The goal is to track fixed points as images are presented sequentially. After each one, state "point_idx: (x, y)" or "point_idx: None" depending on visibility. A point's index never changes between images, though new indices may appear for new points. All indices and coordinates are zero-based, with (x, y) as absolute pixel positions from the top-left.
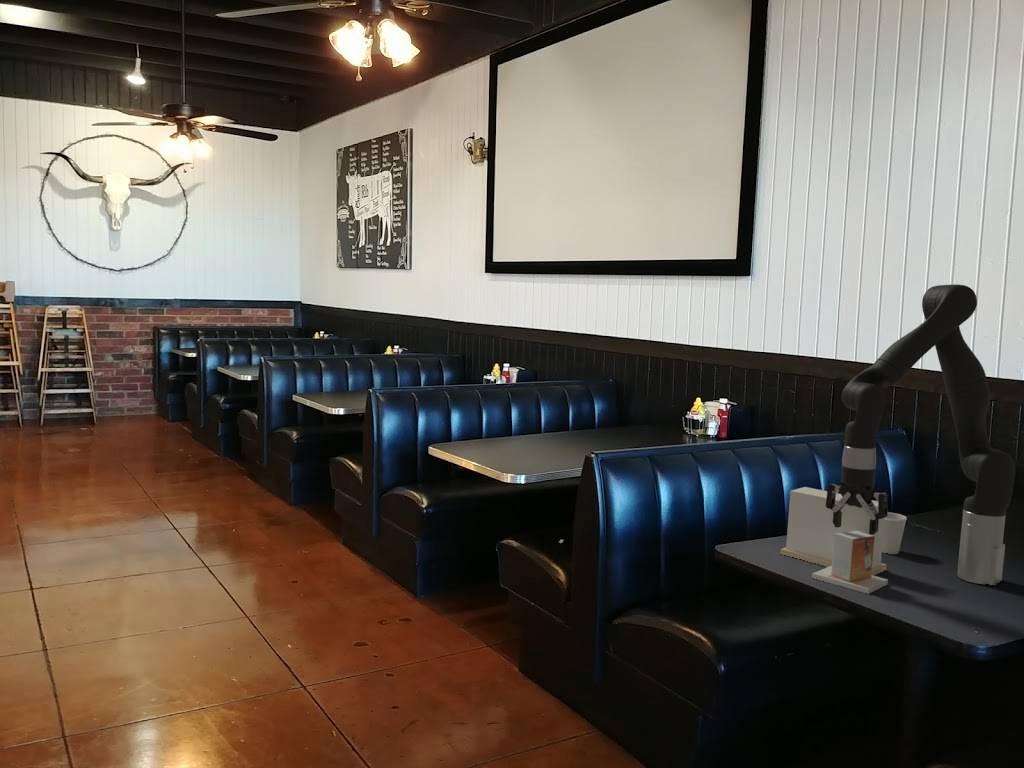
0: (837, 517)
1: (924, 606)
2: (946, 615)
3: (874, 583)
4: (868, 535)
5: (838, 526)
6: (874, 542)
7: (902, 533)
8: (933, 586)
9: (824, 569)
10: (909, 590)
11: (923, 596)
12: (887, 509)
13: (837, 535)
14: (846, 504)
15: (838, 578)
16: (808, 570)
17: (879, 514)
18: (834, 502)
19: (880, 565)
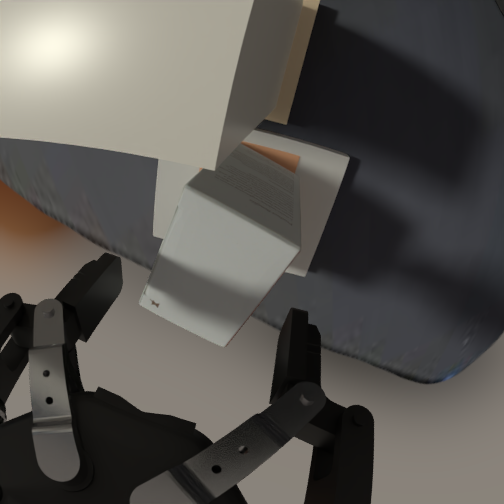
0: (95, 324)
1: (422, 279)
2: (449, 303)
3: (315, 222)
4: (269, 263)
5: (119, 280)
6: (281, 58)
7: None
8: (460, 103)
9: (161, 177)
10: (405, 177)
11: (433, 210)
12: (372, 457)
13: (154, 308)
14: (64, 350)
15: None
16: (127, 169)
17: (319, 450)
18: (12, 326)
19: (305, 20)
